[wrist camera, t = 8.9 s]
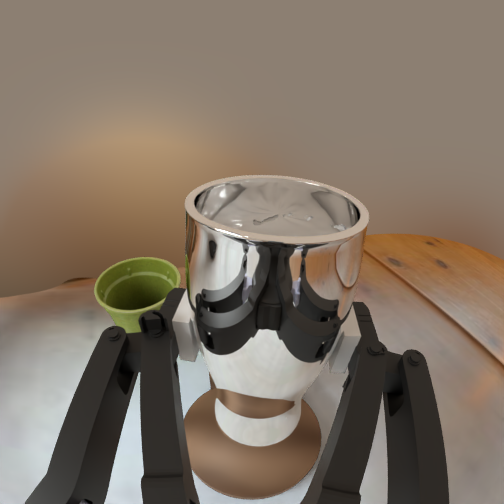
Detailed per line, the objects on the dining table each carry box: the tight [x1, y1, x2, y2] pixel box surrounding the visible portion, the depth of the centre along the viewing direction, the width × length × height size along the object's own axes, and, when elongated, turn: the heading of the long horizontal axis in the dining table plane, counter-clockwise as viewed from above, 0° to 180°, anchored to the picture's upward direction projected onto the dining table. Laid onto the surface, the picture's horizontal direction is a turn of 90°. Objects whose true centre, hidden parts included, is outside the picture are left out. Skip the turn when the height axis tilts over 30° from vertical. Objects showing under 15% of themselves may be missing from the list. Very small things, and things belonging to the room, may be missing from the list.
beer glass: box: [185, 175, 369, 448], centre depth 14 cm, size 7×7×15 cm
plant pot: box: [94, 257, 181, 333], centre depth 29 cm, size 9×9×9 cm
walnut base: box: [184, 372, 321, 500], centre depth 20 cm, size 13×12×6 cm
